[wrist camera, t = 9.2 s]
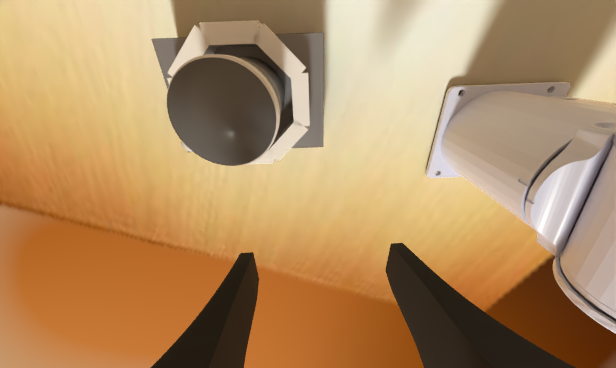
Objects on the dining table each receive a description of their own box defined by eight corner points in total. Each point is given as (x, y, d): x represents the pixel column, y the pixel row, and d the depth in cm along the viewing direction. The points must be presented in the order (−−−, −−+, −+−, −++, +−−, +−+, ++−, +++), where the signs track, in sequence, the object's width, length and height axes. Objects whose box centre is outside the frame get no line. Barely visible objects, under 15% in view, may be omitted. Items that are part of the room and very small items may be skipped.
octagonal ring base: (320, 28, 15) (326, 17, 11) (320, 140, 19) (325, 161, 15) (174, 33, 15) (130, 24, 11) (205, 144, 19) (180, 167, 15)
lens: (300, 94, 14) (300, 116, 9) (257, 143, 16) (236, 185, 11) (243, 35, 13) (203, 22, 8) (200, 96, 14) (144, 119, 9)
